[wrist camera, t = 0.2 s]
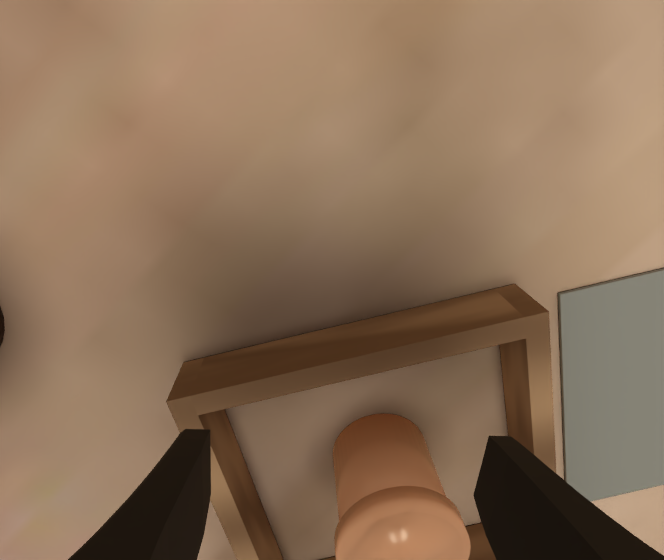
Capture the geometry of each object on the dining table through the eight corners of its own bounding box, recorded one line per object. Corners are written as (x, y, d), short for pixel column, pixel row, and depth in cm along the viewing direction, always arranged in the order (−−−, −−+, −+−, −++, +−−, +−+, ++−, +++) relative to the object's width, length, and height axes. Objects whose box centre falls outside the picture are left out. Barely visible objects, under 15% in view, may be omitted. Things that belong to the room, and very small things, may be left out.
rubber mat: (715, 469, 26) (718, 472, 26) (565, 503, 26) (567, 506, 26) (745, 248, 21) (749, 250, 21) (557, 293, 21) (560, 294, 21)
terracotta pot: (437, 478, 25) (477, 585, 19) (339, 500, 25) (351, 614, 19) (422, 398, 23) (462, 492, 17) (316, 422, 23) (322, 524, 17)
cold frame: (533, 523, 27) (560, 571, 24) (274, 582, 27) (272, 636, 24) (515, 283, 21) (548, 311, 18) (183, 362, 21) (166, 401, 18)
